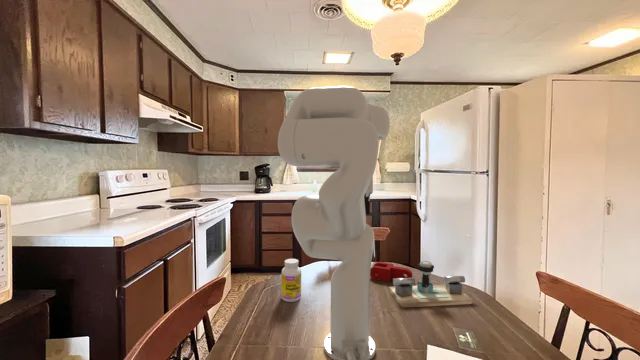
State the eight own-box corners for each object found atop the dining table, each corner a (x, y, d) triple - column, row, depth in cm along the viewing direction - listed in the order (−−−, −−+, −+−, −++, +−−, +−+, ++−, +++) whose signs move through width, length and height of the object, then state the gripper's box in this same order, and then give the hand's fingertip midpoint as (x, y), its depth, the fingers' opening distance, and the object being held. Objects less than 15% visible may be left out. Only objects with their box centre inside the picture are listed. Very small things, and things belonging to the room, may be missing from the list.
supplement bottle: (282, 303, 92) (282, 265, 92) (280, 294, 99) (280, 258, 98) (303, 301, 94) (303, 263, 93) (299, 292, 100) (299, 256, 100)
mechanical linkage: (369, 278, 114) (369, 266, 114) (374, 272, 120) (374, 260, 120) (410, 286, 107) (410, 273, 107) (413, 279, 113) (413, 267, 113)
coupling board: (472, 303, 93) (472, 298, 93) (402, 307, 90) (402, 301, 90) (451, 288, 105) (451, 283, 105) (388, 290, 102) (388, 286, 102)
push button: (434, 288, 100) (435, 260, 100) (439, 295, 95) (440, 265, 95) (415, 287, 101) (416, 259, 101) (418, 294, 96) (419, 264, 95)
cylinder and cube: (467, 294, 97) (467, 278, 96) (396, 297, 94) (396, 281, 94) (458, 288, 101) (459, 273, 101) (391, 291, 98) (391, 276, 98)
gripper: (381, 157, 82) (380, 216, 83) (365, 158, 99) (364, 207, 100) (356, 157, 81) (355, 216, 82) (344, 158, 99) (343, 207, 99)
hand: (360, 211), depth 91 cm, fingers open, 9 cm apart
